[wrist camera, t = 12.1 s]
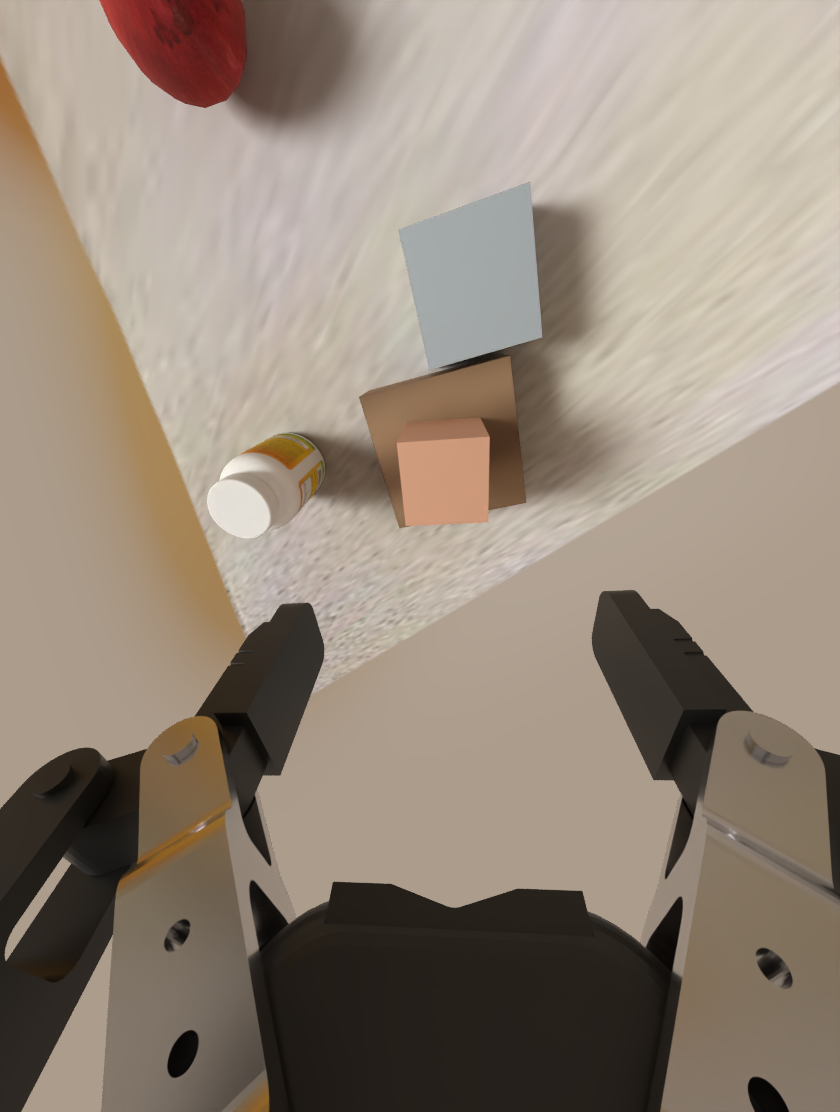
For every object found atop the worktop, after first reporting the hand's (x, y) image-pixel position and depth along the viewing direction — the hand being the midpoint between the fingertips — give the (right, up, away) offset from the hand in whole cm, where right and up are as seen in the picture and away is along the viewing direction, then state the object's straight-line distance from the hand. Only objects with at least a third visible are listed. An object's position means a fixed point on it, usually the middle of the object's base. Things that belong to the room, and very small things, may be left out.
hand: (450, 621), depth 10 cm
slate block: (+2, +19, +14) cm, 24 cm away
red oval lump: (-12, +29, +9) cm, 32 cm away
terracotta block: (+1, +9, +16) cm, 18 cm away
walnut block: (+1, +11, +19) cm, 22 cm away
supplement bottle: (-11, +10, +20) cm, 25 cm away
